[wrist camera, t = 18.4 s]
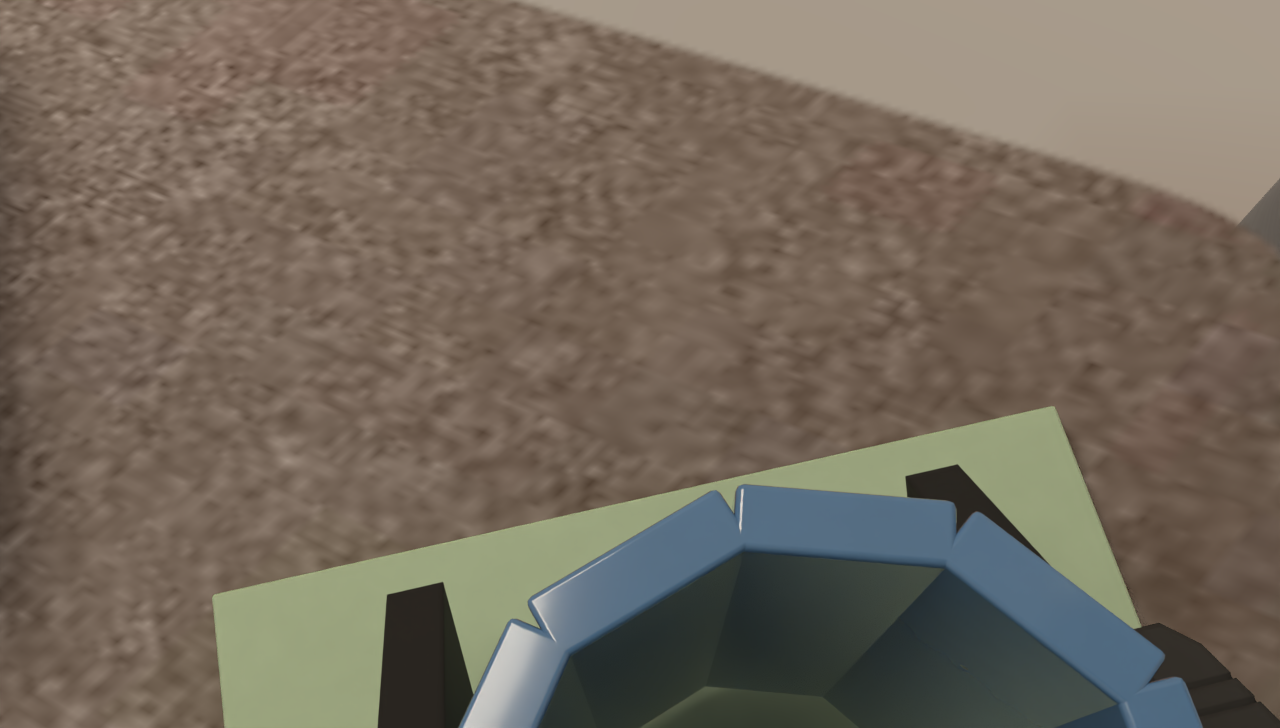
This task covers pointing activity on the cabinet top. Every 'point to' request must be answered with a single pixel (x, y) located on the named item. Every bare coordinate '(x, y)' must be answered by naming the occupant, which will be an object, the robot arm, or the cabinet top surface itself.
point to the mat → (551, 549)
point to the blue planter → (826, 624)
